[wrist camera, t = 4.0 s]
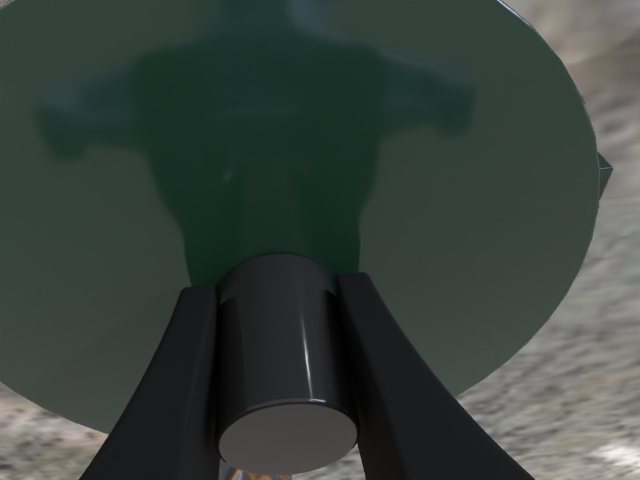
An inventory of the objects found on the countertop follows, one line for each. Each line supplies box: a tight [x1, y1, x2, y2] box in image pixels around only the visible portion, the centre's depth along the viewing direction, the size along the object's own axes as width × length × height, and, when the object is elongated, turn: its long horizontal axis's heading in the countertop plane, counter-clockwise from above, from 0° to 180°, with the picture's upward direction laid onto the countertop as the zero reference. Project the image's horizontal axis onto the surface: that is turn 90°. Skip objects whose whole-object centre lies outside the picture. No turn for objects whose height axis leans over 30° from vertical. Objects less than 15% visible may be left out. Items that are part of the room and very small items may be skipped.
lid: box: [0, 0, 600, 476], centre depth 11 cm, size 15×15×5 cm
